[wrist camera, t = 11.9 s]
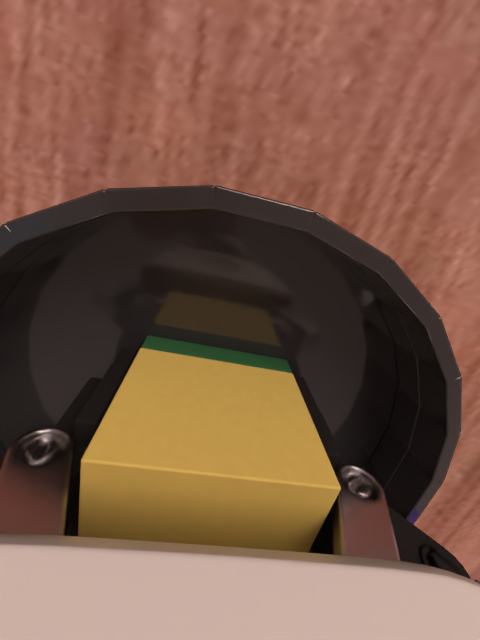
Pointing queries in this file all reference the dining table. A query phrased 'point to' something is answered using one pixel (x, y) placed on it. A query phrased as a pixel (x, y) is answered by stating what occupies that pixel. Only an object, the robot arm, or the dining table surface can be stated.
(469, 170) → the dining table surface
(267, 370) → the sponge
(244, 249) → the pan
